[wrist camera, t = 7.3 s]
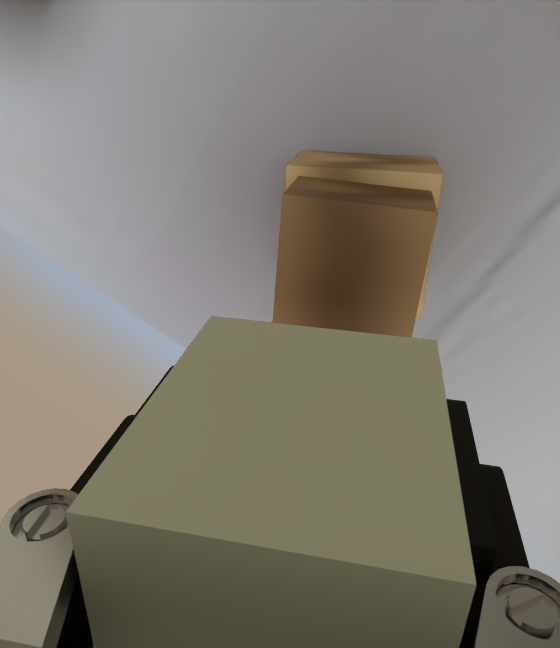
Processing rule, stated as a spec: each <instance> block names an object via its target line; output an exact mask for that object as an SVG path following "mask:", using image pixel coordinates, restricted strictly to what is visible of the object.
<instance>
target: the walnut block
mask: <svg viewBox="0 0 560 648" xmlns="http://www.w3.org/2000/svg"><path fill="white" fill-rule="evenodd" d="M437 216H438V211H437V208H436V204H435V201H434V198H433V195H432V191H427V190H418V189H410V188H401V187H392V186H384V185H375V184H366V183H358V182H349V181H340V180H332V179H323V178H314V177H306V176H298V177H297V178H296V180H295V181H294V182H293V183H292V184H291V185H290V186H289V187H288V189H287V190H286V191H285V192H284V193H283V197H282V210H281V223H280V235H279V248H278V261H277V274H276V287H275V300H274V313H273V323H279V324H289V325H298V326H307V327H317V328H326V329H335V330H345V331H354V332H363V333H372V334H382V335H391V336H400V337H410V338H411V337H412V332H413V328H414V323H415V318H416V314H417V309H418V304H419V300H420V295H421V290H422V286H423V281H424V276H425V272H426V267H427V262H428V258H429V253H430V248H431V244H432V239H433V234H434V230H435V225H436V220H437Z"/></svg>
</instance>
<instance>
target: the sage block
mask: <svg viewBox="0 0 560 648" xmlns="http://www.w3.org/2000/svg"><path fill="white" fill-rule="evenodd" d="M66 515H67V520H68V525H69V530H70V534H71V539H72V544H73V549H74V553H75V558H76V563H77V568H78V573H79V577H80V582H81V587H82V592H83V597H84V601H85V606H86V611H87V616H88V621H89V625H90V630H91V635H92V640H93V645H94V648H459V646H460V642H461V639H462V635H463V632H464V628H465V624H466V621H467V617H468V614H469V610H470V606H471V603H472V599H473V596H474V592H475V588H476V579H475V573H474V566H473V560H472V554H471V548H470V542H469V536H468V530H467V524H466V517H465V511H464V505H463V499H462V493H461V487H460V481H459V474H458V468H457V462H456V456H455V450H454V444H453V438H452V431H451V425H450V419H449V413H448V407H447V401H446V395H445V389H444V382H443V376H442V370H441V364H440V358H439V352H438V346H437V340H428V339H419V338H410V337H400V336H391V335H382V334H372V333H363V332H354V331H345V330H335V329H326V328H317V327H307V326H298V325H289V324H279V323H270V322H261V321H251V320H242V319H233V318H224V317H214V316H211V317H210V318H209V320H208V321H207V322H206V324H205V325H204V326H203V328H202V329H201V330H200V332H199V333H198V334H197V336H196V337H195V338H194V340H193V341H192V342H191V344H190V345H189V346H188V348H187V349H186V350H185V352H184V353H183V355H182V356H181V357H180V359H179V360H178V361H177V363H176V364H175V365H174V367H173V368H172V369H171V371H170V372H169V373H168V375H167V376H166V377H165V379H164V380H163V381H162V383H161V384H160V386H159V387H158V388H157V390H156V391H155V392H154V394H153V395H152V396H151V398H150V399H149V400H148V402H147V403H146V404H145V406H144V407H143V408H142V410H141V411H140V412H139V414H138V415H137V417H136V418H135V419H134V421H133V422H132V423H131V425H130V426H129V427H128V429H127V430H126V431H125V433H124V434H123V435H122V437H121V438H120V439H119V441H118V442H117V443H116V445H115V446H114V448H113V449H112V450H111V452H110V453H109V454H108V456H107V457H106V458H105V460H104V461H103V462H102V464H101V465H100V466H99V468H98V469H97V470H96V472H95V473H94V474H93V476H92V477H91V478H90V480H89V481H88V483H87V484H86V485H85V487H84V488H83V489H82V491H81V492H80V493H79V495H78V496H77V497H76V499H75V500H74V501H73V503H72V504H71V505H70V507H69V508H68V509H67V511H66Z"/></svg>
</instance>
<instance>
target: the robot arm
mask: <svg viewBox="0 0 560 648" xmlns="http://www.w3.org/2000/svg"><path fill="white" fill-rule="evenodd" d="M173 367H174V366H172V367H171V368H170V369H169V370H168V371H167V373H166V374H165V375H164V377H163V378H162V379H161V381H160V382H159V384H158V385H157V386H156V388H155V389H154V390H153V392H152V393H151V394H150V396H149V397H148V398H147V400H146V401H145V402H144V404H143V405H142V406H141V408H140V409H139V410H138V412H137V413H136V414H135V415H130V416H127V417H126V418H125V419H124V421H123V422H122V423H121V424H120V426H119V427H118V428H117V430H116V431H115V432H114V434H113V435H112V436H111V438H110V439H109V440H108V441H107V443H106V444H105V445H104V447H103V448H102V449H101V451H100V452H99V453H98V454H97V456H96V457H95V458H94V460H93V461H92V462H91V464H90V465H89V466H88V467H87V469H86V470H85V471H84V473H83V474H82V475H81V476H80V478H79V479H78V481H77V482H76V483H75V484H74V486H73V487H72V488H71V489H70V490H67V489H56V488H54V489H48V490H42V491H39V492H36V493H33V494H31V495H29V496H27V497H25V498H24V499H21V500H20V501H18V502H17V503H16V504H15V505H14V506H12V507H11V508H10V509H9V510H8V512H7V513H6V515H5V516H4V518H3V519H2V521H1V523H0V648H94V645H93V640H92V635H91V630H90V625H89V621H88V616H87V611H86V606H85V601H84V597H83V592H82V587H81V582H80V577H79V573H78V568H77V563H76V558H75V553H74V549H73V544H72V539H71V534H70V530H69V525H68V520H67V515H66V511H67V509H68V508H69V507H70V505H71V504H72V503H73V501H74V500H75V499H76V497H77V496H78V495H79V493H80V492H81V491H82V489H83V488H84V487H85V485H86V484H87V483H88V481H89V480H90V478H91V477H92V476H93V474H94V473H95V472H96V470H97V469H98V468H99V466H100V465H101V464H102V462H103V461H104V460H105V458H106V457H107V456H108V454H109V453H110V452H111V450H112V449H113V448H114V446H115V445H116V443H117V442H118V441H119V439H120V438H121V437H122V435H123V434H124V433H125V431H126V430H127V429H128V427H129V426H130V425H131V423H132V422H133V421H134V419H135V418H136V417H137V415H138V414H139V412H140V411H141V410H142V408H143V407H144V406H145V404H146V403H147V402H148V400H149V399H150V398H151V396H152V395H153V394H154V392H155V391H156V390H157V388H158V387H159V386H160V384H161V383H162V381H163V380H164V379H165V377H166V376H167V375H168V373H169V372H170V371H171V369H172V368H173ZM446 401H447V407H448V413H449V419H450V425H451V431H452V438H453V444H454V450H455V456H456V462H457V468H458V474H459V481H460V487H461V493H462V499H463V505H464V511H465V517H466V524H467V530H468V536H469V542H470V548H471V554H472V560H473V566H474V573H475V579H476V588H475V592H474V596H473V599H472V603H471V606H470V610H469V614H468V617H467V621H466V624H465V628H464V632H463V635H462V639H461V642H460V646H459V648H560V583H558V582H557V581H556V580H554V579H553V578H552V577H550V576H548V575H546V574H544V573H542V572H540V571H537V570H534V569H530V568H529V564H528V561H527V557H526V553H525V550H524V546H523V542H522V539H521V535H520V531H519V528H518V524H517V520H516V517H515V513H514V510H513V506H512V502H511V499H510V495H509V491H508V488H507V484H506V480H505V477H504V473H503V471H502V469H501V468H500V467H498V466H491V465H484V464H479V460H478V455H477V450H476V446H475V441H474V437H473V432H472V428H471V423H470V418H469V414H468V409H467V405H466V402H465V401H458V400H450V399H446Z"/></svg>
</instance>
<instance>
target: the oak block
mask: <svg viewBox="0 0 560 648" xmlns="http://www.w3.org/2000/svg"><path fill="white" fill-rule="evenodd" d="M298 176H306V177H314V178H323V179H332V180H340V181H349V182H358V183H366V184H375V185H384V186H392V187H401V188H410V189H418V190H427V191H432V195H433V198H434V201H435V204H436V208H437V211H438V205H439V198H440V192H441V186H442V179H443V172H442V170H441V168H440V166H439V164H438V162H437V160H436V158H435V157H416V156H397V155H377V154H358V153H339V152H320V151H301V152H300V153H299V154H298V155H297V156H296V157H295V158H294V159H293V160H291V161H290V162H289V163H288V164H287V165H286V189H285V191H286V190H287V189H288V187H289V186H290V185H291V184H292V183H293V182H294V181H295V180H296V178H297V177H298ZM433 236H434V234H433ZM432 243H433V239H432ZM431 249H432V244H431V248H430V253H429V258H428V262H427V267H426V272H425V276H424V281H423V286H422V290H421V295H420V300H419V304H418V309H417V314H416V318H421V313H422V307H423V300H424V294H425V287H426V281H427V275H428V268H429V262H430V256H431Z"/></svg>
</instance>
